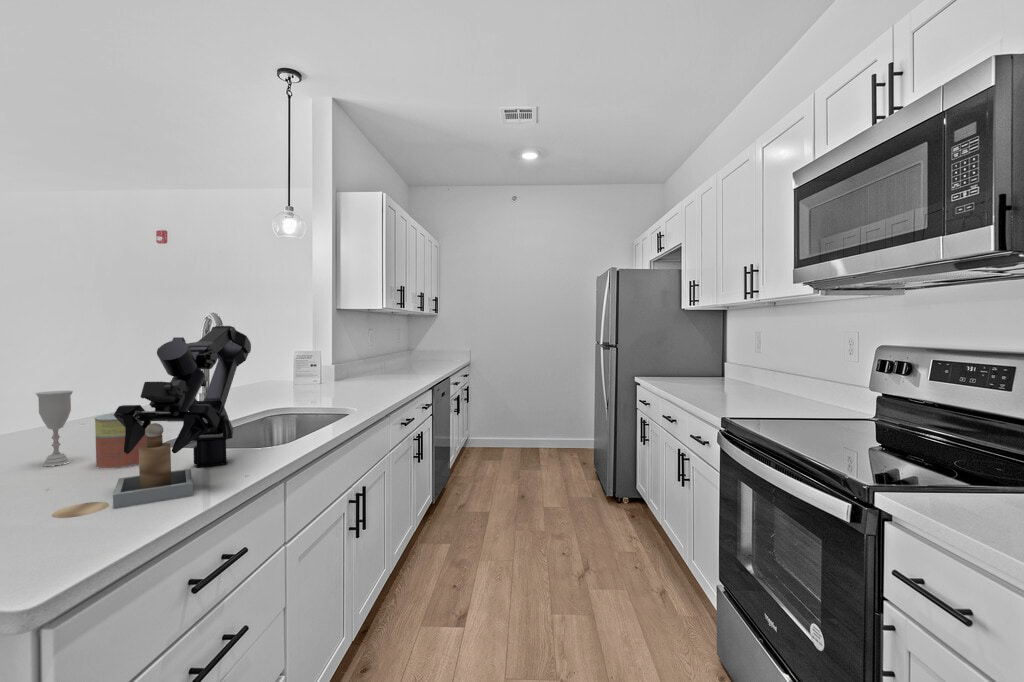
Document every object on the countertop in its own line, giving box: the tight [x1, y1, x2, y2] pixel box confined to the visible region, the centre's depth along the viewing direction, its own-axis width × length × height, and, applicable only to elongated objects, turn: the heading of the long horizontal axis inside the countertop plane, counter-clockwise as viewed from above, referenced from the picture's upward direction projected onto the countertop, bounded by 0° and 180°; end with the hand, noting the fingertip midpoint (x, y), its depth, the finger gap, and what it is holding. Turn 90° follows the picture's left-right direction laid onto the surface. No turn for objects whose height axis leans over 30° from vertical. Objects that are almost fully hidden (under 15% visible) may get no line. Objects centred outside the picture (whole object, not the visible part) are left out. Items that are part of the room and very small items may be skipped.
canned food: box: [94, 413, 152, 469], centre depth 126 cm, size 11×11×12 cm
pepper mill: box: [138, 422, 172, 489], centre depth 101 cm, size 5×5×14 cm
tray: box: [112, 468, 194, 510], centre depth 101 cm, size 12×12×3 cm
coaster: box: [51, 501, 110, 519], centre depth 92 cm, size 8×8×1 cm
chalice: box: [35, 390, 74, 467], centre depth 125 cm, size 7×7×18 cm
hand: (149, 452), depth 99 cm, fingers open, 9 cm apart
